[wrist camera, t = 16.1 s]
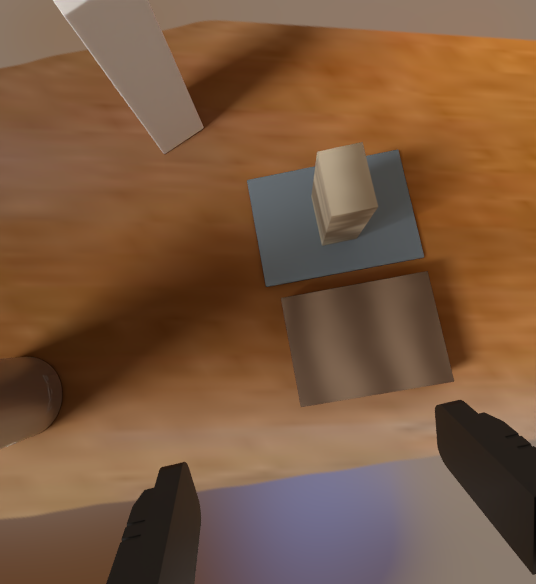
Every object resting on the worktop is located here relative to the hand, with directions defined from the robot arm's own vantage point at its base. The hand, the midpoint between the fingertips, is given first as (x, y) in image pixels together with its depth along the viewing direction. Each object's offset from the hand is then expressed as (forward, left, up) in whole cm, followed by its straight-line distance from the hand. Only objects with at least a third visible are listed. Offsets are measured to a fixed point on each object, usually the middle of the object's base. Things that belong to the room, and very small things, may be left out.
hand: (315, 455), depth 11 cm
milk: (-10, +32, -28) cm, 44 cm away
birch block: (+7, +16, -27) cm, 32 cm away
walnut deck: (+7, +2, -28) cm, 29 cm away
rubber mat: (+7, +16, -28) cm, 33 cm away
